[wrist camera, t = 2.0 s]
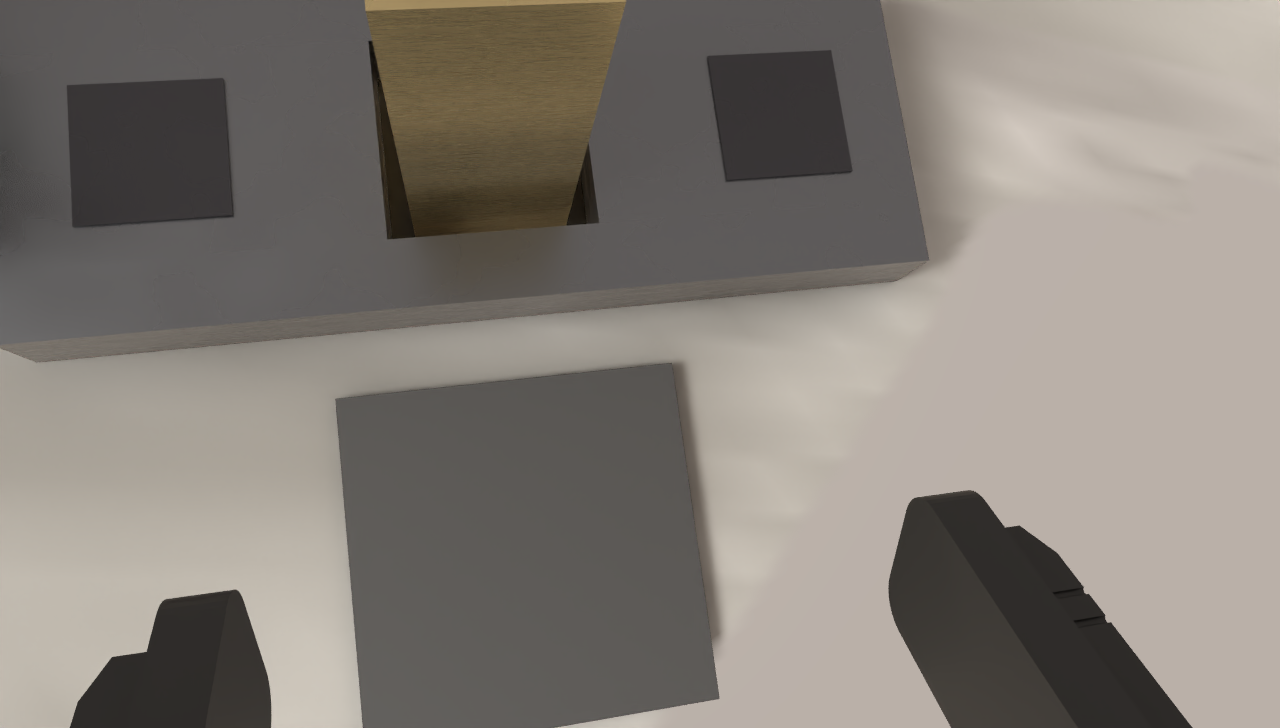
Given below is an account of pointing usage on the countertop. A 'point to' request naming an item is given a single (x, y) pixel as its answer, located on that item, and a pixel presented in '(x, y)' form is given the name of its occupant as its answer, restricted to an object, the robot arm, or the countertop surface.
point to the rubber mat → (523, 552)
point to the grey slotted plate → (357, 184)
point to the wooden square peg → (491, 105)
